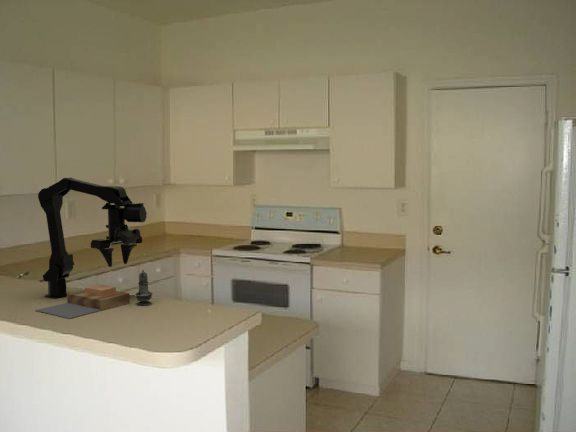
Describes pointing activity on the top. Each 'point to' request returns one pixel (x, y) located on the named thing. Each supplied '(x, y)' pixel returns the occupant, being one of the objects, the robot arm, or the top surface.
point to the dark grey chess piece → (143, 290)
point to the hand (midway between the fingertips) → (117, 265)
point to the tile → (100, 290)
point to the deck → (98, 299)
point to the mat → (68, 310)
